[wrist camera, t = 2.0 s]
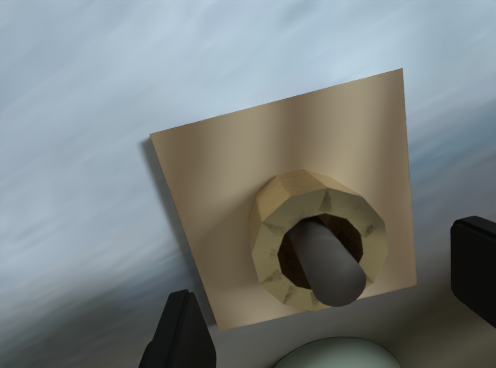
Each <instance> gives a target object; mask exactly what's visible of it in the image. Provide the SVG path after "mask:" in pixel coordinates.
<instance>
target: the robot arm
mask: <svg viewBox="0 0 496 368" xmlns="http://www.w3.org/2000/svg"><path fill="white" fill-rule="evenodd" d="M450 234H451V289H452V292H453V293H454V295H455V296H456V297H457V298H458V299H459V300H460V301H461V302H463V303H464V304H465V305H466V306H468V307H469V308H470V309H471V310H473V311H474V312H475V313H477V314H478V315H479V316H480V317H482V318H483V319H484V320H485V321H487V322H488V323H489V324H491V325H492V326H493V327H494V328H496V223H494V222H492V221H489V220H486V219H484V218H481V217H478V216H470V217H466V218H462V219H459V220H456V221H455V222H454V223H453V226H452V227H451V230H450ZM138 368H216V351H215V347H214V344H213V342H212V339H211V336H210V334H209V331H208V328H207V326H206V323H205V320H204V318H203V315H202V312H201V310H200V307H199V304H198V302H197V299H196V296H195V294H194V293H193V292H191V293H189V291H188V290H187V289H185V290H181V291H177V292H174V293H171V294H170V295H169V297H168V300H167V302H166V305H165V308H164V311H163V313H162V316H161V319H160V321H159V324H158V327H157V329H156V332H155V335H154V337H153V340H152V341H151V342H150V343H149V344H148V345H147V347H146V349H145V352H144V354H143V357H142V359H141V362H140V365H139V367H138Z"/></svg>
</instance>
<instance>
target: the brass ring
mask: <svg viewBox="0 0 496 368" xmlns="http://www.w3.org/2000/svg"><path fill="white" fill-rule="evenodd" d="M323 213H327V214H329V216H330V219H329V222H328V224H327V227H328V229H329V230H330V231H331V232H332V233H333V234H334V236H335V237H336V238H337V239H338V240H339V241H340V243H341V244H342V245H343V246H344V247H345V249H346V250H347V251H348V252H349V253H350V254H351V256H352V257H353V258H354V259H355V260H356V262H357V263H358V264H359V265H360V266H361V267H362V269H363V270H364V272H365V274H366V286H365V289H366V288H368V287H369V286H370V285H372V284H373V283H374V281H375V279H376V277H377V275H378V273H379V271H380V269H381V267H382V265H383V263H384V261H385V259H386V257H387V255H388V249H387V239H386V229H385V221H384V220H383V219H382V218H381V217H380V216H379V215H378V214H377V212H376V211H375V210H374V209H373V208H372V207H371V206H370V204H369V203H368V202H367V201H366V200H365V199H364V198H363V197H362V196H361V195H359V194H357V193H356V192H354V191H352V190H351V189H349V188H347V187H346V186H344V185H342V184H341V183H339V182H337V181H336V180H334V179H332V178H331V177H329V176H326V175H323V174H319V173H316V172H312V171H309V170H305V169H299V170H295V171H291V172H287V173H283V174H279V175H275V176H274V177H273V178H272V179H271V180H270V181H269V182H268V183H267V184H266V185H265V186H264V187H263V188H261V189H260V190H259V191H258V192H257V193H256V194H255V197H254V201H253V204H252V207H251V210H250V214H249V217H248V224H249V234H250V245H251V255H252V258H253V261H254V265H255V269H256V272H257V276H258V279H259V283H260V285H261V286H262V287H264V288H265V289H266V290H267V291H268V292H269V293H270V294H272V295H273V296H274V297H275V298H276V299H277V300H279V301H280V302H281V303H282V304H284V305H288V306H293V307H298V308H302V309H307V310H312V311H317V310H321V309H325V308H329V307H332V306H327V305H325V304H323V303H321V302H320V301H318V300H317V298H316V297H315V295H314V293H313V291H312V289H311V286H310V284H309V282H308V280H307V277H306V275H305V273H304V270H303V268H302V266H301V264H300V261H299V259H298V257H297V254H296V252H295V250H294V248H293V246H290V245H286V244H282V243H281V242H282V239H283V236H284V234H285V233H286V232H287V231H288V230H289V229H291V228H292V227H293V226H294V225H295V224H296V223H298V222H299V221H300V220H301V219H303V218H307V217H311V216H315V215H319V214H323ZM365 289H364V290H365Z"/></svg>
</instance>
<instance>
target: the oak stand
mask: <svg viewBox="0 0 496 368" xmlns="http://www.w3.org/2000/svg"><path fill="white" fill-rule="evenodd" d="M150 137H151V140H152V142H153V145H154V148H155V151H156V154H157V156H158V159H159V162H160V165H161V168H162V171H163V173H164V176H165V179H166V182H167V185H168V187H169V190H170V193H171V196H172V199H173V201H174V204H175V207H176V210H177V213H178V215H179V218H180V221H181V224H182V227H183V230H184V232H185V235H186V238H187V241H188V244H189V246H190V249H191V252H192V255H193V258H194V260H195V263H196V266H197V269H198V272H199V274H200V277H201V280H202V283H203V286H204V289H205V291H206V294H207V297H208V300H209V303H210V305H211V308H212V311H213V314H214V317H215V319H216V322H217V325H218V328H219V331H224V330H229V329H233V328H237V327H241V326H246V325H250V324H254V323H258V322H263V321H267V320H271V319H275V318H280V317H284V316H288V315H292V314H297V313H301V312H305V311H309V310H307V309H302V308H298V307H293V306H288V305H284V304H282V303H281V302H280V301H279V300H277V299H276V298H275V297H274V296H273V295H272V294H270V293H269V292H268V291H267V290H266V289H265V288H264V287H262V286H261V285H260V283H259V279H258V276H257V272H256V269H255V265H254V261H253V258H252V255H251V245H250V234H249V224H248V217H249V214H250V210H251V207H252V204H253V201H254V197H255V194H256V193H257V192H258V191H259V190H260V189H261V188H263V187H264V186H265V185H266V184H267V183H268V182H269V181H270V180H271V179H272V178H273V177H274V176H275V175H279V174H283V173H287V172H291V171H295V170H299V169H305V170H309V171H312V172H316V173H319V174H323V175H326V176H329V177H331V178H332V179H334V180H336V181H337V182H339V183H341V184H342V185H344V186H346V187H347V188H349V189H351V190H352V191H354V192H356V193H357V194H359V195H361V196H362V197H363V198H364V199H365V200H366V201H367V202H368V203H369V204H370V206H371V207H372V208H373V209H374V210H375V211H376V212H377V214H378V215H379V216H380V217H381V218H382V219H383V220H384V221H385V229H386V239H387V249H388V255H387V257H386V259H385V261H384V263H383V265H382V267H381V269H380V271H379V273H378V275H377V277H376V279H375V281H374V283H373V284H372V285H370V286H369V287H368V288H366V289H365V286H366V274H365V272H364V270H363V269H362V267H361V266H360V265H359V264H358V263H357V262H356V260H355V259H354V258H353V257H352V256H351V254H350V253H349V252H348V251H347V250H346V249H345V247H344V246H343V245H342V244H341V243H340V241H339V240H338V239H337V238H336V237H335V236H334V234H333V233H332V232H331V231H330V230H329V229H328V227H327V224H328V222H329V219H330V216H329V214H327V213H323V214H319V215H315V216H311V217H307V218H303V219H301V220H300V221H299V222H298V223H296V224H295V225H294V226H293V227H292V228H291V229H289V230H288V231H287V232H286V233H285V234H284V236H283V239H282V242H281V243H282V244H286V245H290V246H293V248H294V250H295V252H296V254H297V257H298V259H299V261H300V264H301V266H302V268H303V270H304V273H305V275H306V277H307V280H308V282H309V284H310V286H311V289H312V291H313V293H314V295H315V297H316V298H317V300H318V301H320V302H321V303H323V304H325V305H327V306H332V307H340V306H344V305H347V304H350V303H352V302H353V301H355V300H356V299H360V298H365V297H369V296H373V295H377V294H382V293H386V292H390V291H394V290H399V289H403V288H407V287H411V286H416V285H417V280H416V265H415V250H414V235H413V219H412V204H411V189H410V174H409V158H408V143H407V128H406V113H405V97H404V82H403V68H401V69H397V70H394V71H390V72H386V73H382V74H378V75H374V76H371V77H367V78H363V79H359V80H355V81H351V82H348V83H344V84H340V85H336V86H332V87H328V88H325V89H321V90H317V91H313V92H309V93H305V94H302V95H298V96H294V97H290V98H286V99H282V100H279V101H275V102H271V103H267V104H263V105H259V106H256V107H252V108H248V109H244V110H240V111H236V112H233V113H229V114H225V115H221V116H217V117H213V118H210V119H206V120H202V121H198V122H194V123H190V124H187V125H183V126H179V127H175V128H171V129H167V130H164V131H160V132H156V133H152V134H150ZM364 289H365V290H364Z"/></svg>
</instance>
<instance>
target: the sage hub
mask: <svg viewBox="0 0 496 368" xmlns="http://www.w3.org/2000/svg"><path fill="white" fill-rule="evenodd" d="M274 368H401V367H400V365H399V364H398V362H397V361H396V359H395V358H394V357H393V356H392V355H391V353H389V352H388V351H387V350H386V349H384V348H383V347H381V346H379V345H378V344H375V343H373V342H371V341H368V340H364V339H360V338H353V337H334V338H327V339H321V340H318V341H314V342H311V343H309V344H306V345H304V346H301V347H300V348H298V349H296V350H294V351H292V352H291V353H289V354H288V355H286V356H285V357H284V358H283V359H282V360H281V361H279V362H278V364H277V365H276V366H275V367H274Z"/></svg>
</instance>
